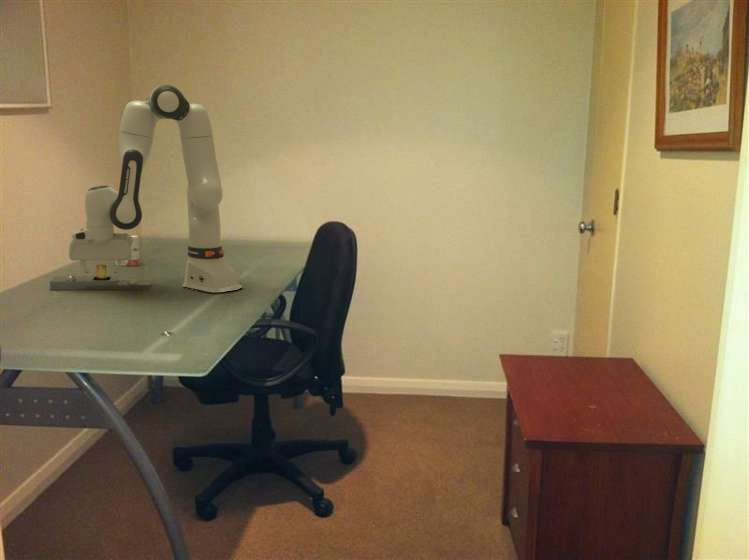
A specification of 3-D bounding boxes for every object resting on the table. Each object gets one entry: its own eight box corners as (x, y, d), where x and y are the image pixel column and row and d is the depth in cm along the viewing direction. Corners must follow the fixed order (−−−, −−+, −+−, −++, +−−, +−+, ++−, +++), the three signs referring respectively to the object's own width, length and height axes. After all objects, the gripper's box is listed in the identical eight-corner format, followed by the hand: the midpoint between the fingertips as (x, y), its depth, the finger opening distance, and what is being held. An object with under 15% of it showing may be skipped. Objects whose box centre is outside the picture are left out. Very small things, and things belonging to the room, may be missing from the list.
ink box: (140, 263, 283) (139, 235, 280) (137, 266, 278) (136, 237, 276) (118, 263, 282) (117, 234, 279) (114, 265, 277) (113, 236, 275)
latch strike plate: (151, 283, 251) (150, 272, 250) (149, 289, 243) (149, 277, 242) (54, 284, 243) (54, 273, 242) (50, 290, 235) (49, 278, 234)
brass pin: (109, 287, 243) (109, 264, 242) (100, 288, 241) (99, 266, 239) (104, 285, 246) (103, 263, 244) (94, 286, 243) (94, 264, 241)
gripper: (132, 232, 244) (134, 270, 248) (70, 231, 239) (72, 270, 242) (131, 235, 239) (132, 274, 242) (67, 234, 233) (69, 274, 236)
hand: (101, 272), depth 242 cm, fingers open, 8 cm apart
